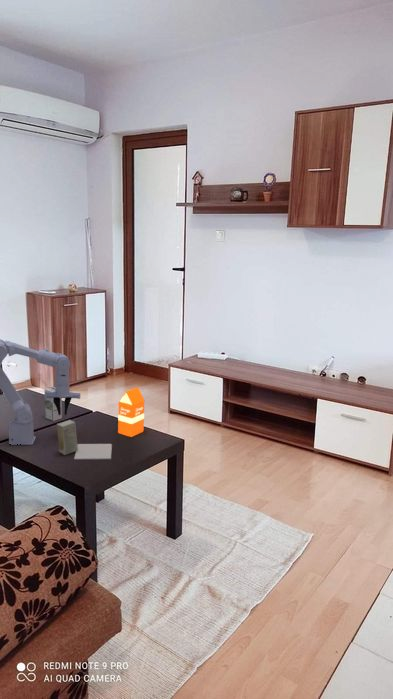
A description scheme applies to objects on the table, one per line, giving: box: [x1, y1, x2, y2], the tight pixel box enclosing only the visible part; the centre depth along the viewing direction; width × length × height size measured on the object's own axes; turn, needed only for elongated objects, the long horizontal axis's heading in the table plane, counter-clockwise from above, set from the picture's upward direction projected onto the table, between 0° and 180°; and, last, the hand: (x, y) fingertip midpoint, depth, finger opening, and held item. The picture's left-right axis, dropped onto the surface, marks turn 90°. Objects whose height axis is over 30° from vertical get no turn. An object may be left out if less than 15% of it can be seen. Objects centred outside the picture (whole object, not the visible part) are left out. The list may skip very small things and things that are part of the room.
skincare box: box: [56, 419, 78, 456], centre depth 201 cm, size 6×4×12 cm
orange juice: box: [117, 387, 145, 438], centre depth 224 cm, size 8×9×20 cm
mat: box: [73, 443, 113, 460], centre depth 204 cm, size 14×14×1 cm
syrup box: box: [44, 386, 63, 422], centre depth 236 cm, size 6×6×14 cm
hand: (62, 414), depth 214 cm, fingers closed
